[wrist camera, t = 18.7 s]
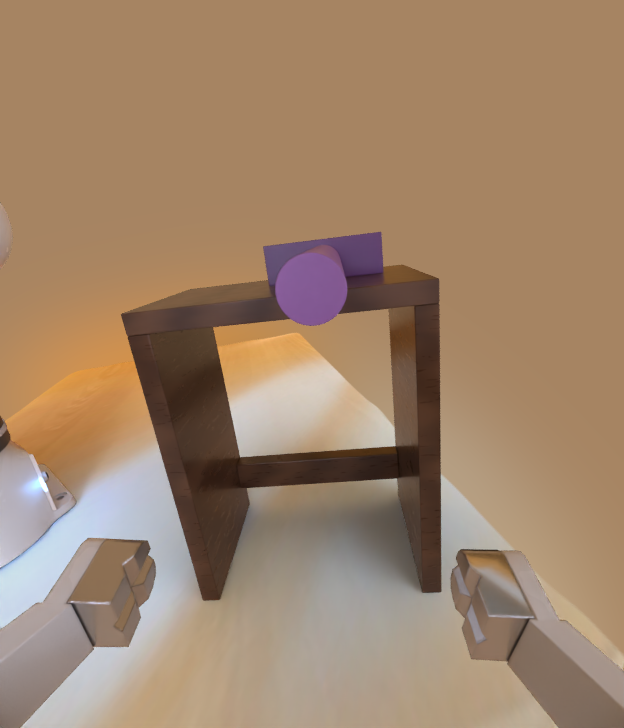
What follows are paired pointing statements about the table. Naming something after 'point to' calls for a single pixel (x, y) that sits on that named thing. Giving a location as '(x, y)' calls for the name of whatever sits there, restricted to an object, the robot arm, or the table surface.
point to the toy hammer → (320, 273)
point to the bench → (235, 474)
